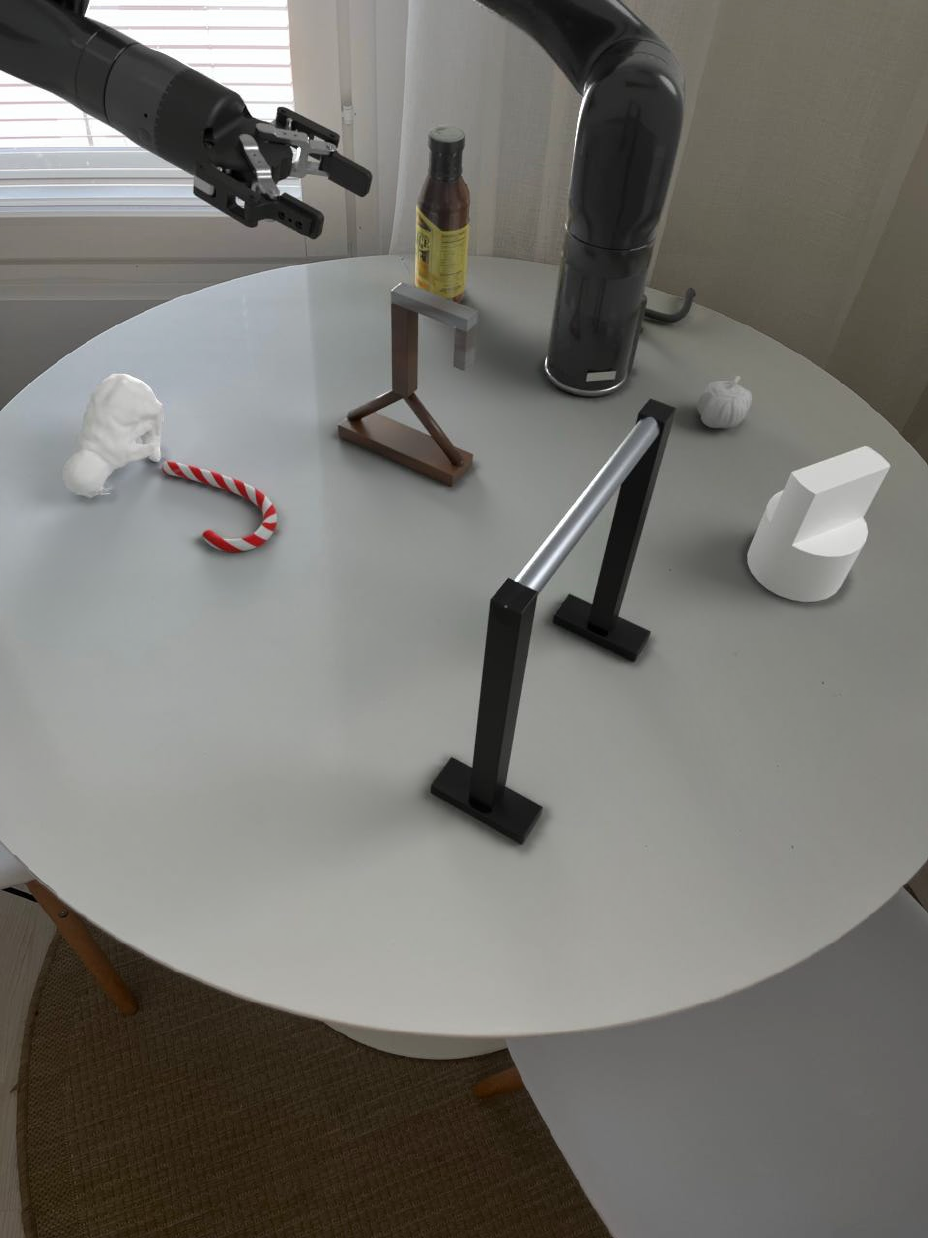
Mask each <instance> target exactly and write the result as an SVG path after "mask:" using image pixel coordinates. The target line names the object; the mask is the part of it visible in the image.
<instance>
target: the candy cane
mask: <svg viewBox="0 0 928 1238" xmlns="http://www.w3.org/2000/svg"><path fill="white" fill-rule="evenodd" d="M161 472H162V473H163V474H166V475H169V476H174V477H178V478H182V479H186V480H191V481H195V482H198V483H202V484H206V485H208V486H213V487H216V488H219V489H222V490H224V491H228V492H230V493H233V494H236V495H238V496H240V497H243V498H244V499H247V500H248V501H250V502H251V503H252V504H254V505H256V506H257V507H258V509H259V510H260V511H261V513H262V522H261V524H260V526H259V527H258V529H256V530H255V531H254V532H253V533H251V534H250V535H247V536H243V537H239V538H224V537H221V536H219V535H218V534H216V533H215V532H214V531H213V530H212V529H206V530H204V531H203V533H202V536H201V537H202V539H203V540H204V541H205V542H206V543H207V544H208V545H209V546H211V547H212V548H214V549H216V550H218V551H222V552H225V553H226V552H228V553H240V552H247V551H251V550H254V549H257V548H258V547H260V546H261V545H264V544H265V542H266V541H268V540H269V539H270V538H271V536H272V535H273V533H274V532H275V530H276V527H277V522H278V516H277V515H278V513H277V510H276V508H275V505H274V504H273V502H272V501H271V500H270V498H269V497H268V496H267V495H265V494H264V493H262V491H260V490H259V489H257V488H255V487H253V486H252V485H250V484H248V483H246V482H243V481H241V480H238V479H237V478H233V477H230V476H228V475H224V474H220V473H217V472H214V471H212V470H207V469H203V468H200V467H197V466H192V465H188V464H184V463H180V462H175V461H168V460H165V461H163V462H162V464H161Z"/></svg>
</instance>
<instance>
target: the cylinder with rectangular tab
mask: <svg viewBox="0 0 928 1238" xmlns="http://www.w3.org/2000/svg"><path fill="white" fill-rule="evenodd" d="M890 469H891V465H890V463H889V462H888V461H887V460H886V459H885V457H883V456H882V455H881V454H879V452H877V451H875V450H874V449H873V448H871V447H870V446H867V445H864V446H861V447H858V448H855V449H853V450H850V451H847V452H844V453H841V454H839V455H835V456H833V457H830V458H827V459H825V460H821V461H819V462H816V463H813V464H810V465H808V466H805V467H802V468H798V469H796V470H794V471H791V473H790V475H789V477H788V479H787V482H786V484H785V487H784V489H782V490H780V491H778V492H776V493H775V494H774V495H773V496H772V497H771V498H770V499H769V500H768V503H767V505H766V507H765V509H764V512H763V515H762V516H761V519H760V522H759V524H758V527H757V529H756V532H755V534H754V537H752V541H751V544H750V546H749V548H748V551H747V553H746V557H747V558H746V560H747V565H748V568H749V571H750V573H751V574H752V575H753V577H754V578H755V580H756V581H757V582H758V583H759V584H760V585H761V586H763V587H764V588H765V589H766V590H768V591H769V592H771V593H773V594H775V595H777V596H778V597H782V598H785V599H787V600H791V601H795V602H802V603H814V602H815V603H816V602H821V601H824V600H828V599H829V598H831V597H832V596H834V595H835V594H837V592H838V591H839V590H840V588H841V587H842V586H843V583H844V582H845V580H846V579H847V577H848V574H849V573H850V572H851V569H852V568H853V566H854V564H855V562H856V560H857V558H858V557H859V555H860V553H861V551H862V549H863V548H864V546H865V544H866V542H867V539H868V535H869V530H868V524H867V522H866V519H865V518H864V517H865V515H866V513H867V511H868V510H869V508H870V507H871V504H872V502H873V501H874V498H875V497H876V495H877V493H878V491H879V489H880V487H881V485H882V484H883V481H884V480H885V478H886V475H887V474H888V472H889V470H890Z"/></svg>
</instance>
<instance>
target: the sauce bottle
mask: <svg viewBox="0 0 928 1238" xmlns="http://www.w3.org/2000/svg"><path fill="white" fill-rule="evenodd" d="M426 142H427V144H426V145H427V148H428V166H427V171H426V173H425V177H424V178H423V179H424V180H423V182H422V185H421V187H420V189H419V190H420V191H419V192H418V193H419V194H418V196H417V199H416V204H415V205H416V207H415V248H414V249H415V261H414V262H415V266H414V267H415V268H414V269H415V271H414V273H415V275H414V276H415V277H414V284H415V287H416V288H419V289H421V290H424V291H427V292H429V293H432V294H435V295H437V296H440V297H443V298H445V299H448V300H451V301H453V302H456V303H459V304H461V302H462V300H463V297H464V295H465V290H466V283H467V268H468V267H467V265H468V253H469V252H468V251H469V238H470V237H469V236H470V220H471V218H470V207H471V194H470V190H469V186H468V184H467V183H466V182H465V180H464V178H463V175H462V174H463V153H464V149H465V148H466V147H465V146H466V134H465V132H464V130H463V129H462V128H461V127H457V126H455V125H451V124H440V125H436V126H433V127H432V128H431V129H429V130H428V133H427V141H426Z"/></svg>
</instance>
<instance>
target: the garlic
mask: <svg viewBox="0 0 928 1238" xmlns="http://www.w3.org/2000/svg"><path fill="white" fill-rule="evenodd" d="M740 380H741V376H739V375H736V376H735V378H734V379H733V381H730V380H729V381H727V380H720V381H712V382H710V383H709V384H708V385H707V387H706V388H705V389H704V391H703V392H702V393H701V395H700V396H699V398H698V400H697V403H696V409H697V411H698V413H699V415H700V420H701V422H702V423H703V424H704V425H705V426H706V427H709V428H711V429H731V428H735V427H736V426H738V425H740V423H741V422H742V421H743V419H744V418H745V417H746V416H747V414H748V412H749V410H750V408H751V405H752V402H753V395H752V392H751V391H750V390H749V389H747V388H745V387H743V386H741V385H740V384H738V382H739V381H740Z"/></svg>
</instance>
